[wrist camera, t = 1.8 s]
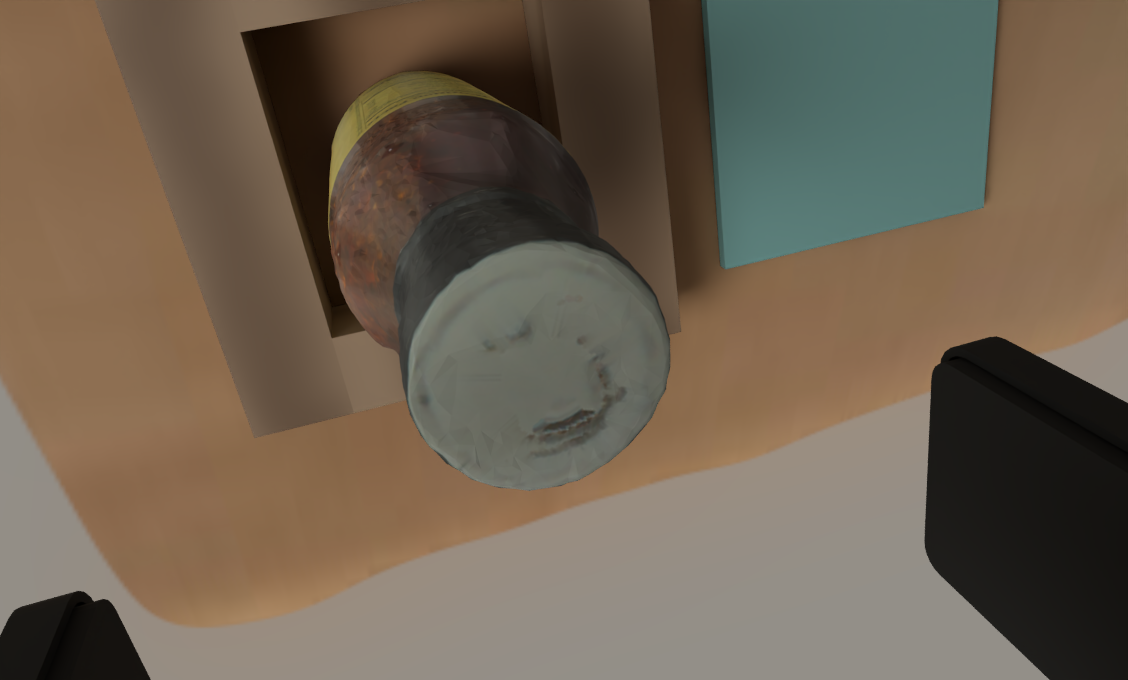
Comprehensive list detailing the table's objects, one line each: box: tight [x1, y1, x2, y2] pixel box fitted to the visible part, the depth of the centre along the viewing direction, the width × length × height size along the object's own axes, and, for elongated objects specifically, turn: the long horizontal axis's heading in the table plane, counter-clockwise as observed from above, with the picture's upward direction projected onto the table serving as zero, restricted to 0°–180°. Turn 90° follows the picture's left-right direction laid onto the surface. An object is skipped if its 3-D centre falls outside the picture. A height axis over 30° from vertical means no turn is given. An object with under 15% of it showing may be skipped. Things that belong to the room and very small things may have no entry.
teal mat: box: [701, 0, 998, 269], centre depth 33 cm, size 12×12×1 cm
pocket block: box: [95, 0, 681, 438], centre depth 29 cm, size 16×16×3 cm
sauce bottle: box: [328, 71, 670, 491], centre depth 21 cm, size 6×6×20 cm
